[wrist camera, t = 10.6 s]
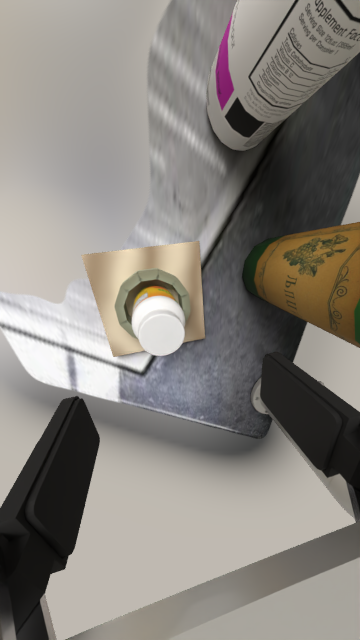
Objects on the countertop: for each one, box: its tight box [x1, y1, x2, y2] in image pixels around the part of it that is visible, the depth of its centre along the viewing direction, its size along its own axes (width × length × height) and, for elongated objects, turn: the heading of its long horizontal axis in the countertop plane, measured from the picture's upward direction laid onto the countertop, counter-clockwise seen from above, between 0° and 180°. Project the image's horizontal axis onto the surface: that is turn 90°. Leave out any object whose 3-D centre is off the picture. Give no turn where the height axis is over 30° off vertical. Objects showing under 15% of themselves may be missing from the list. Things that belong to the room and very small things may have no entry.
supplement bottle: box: [132, 285, 185, 356], centre depth 19 cm, size 5×5×10 cm
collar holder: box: [82, 241, 205, 357], centre depth 23 cm, size 14×14×4 cm
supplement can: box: [206, 0, 360, 151], centre depth 12 cm, size 8×8×15 cm
